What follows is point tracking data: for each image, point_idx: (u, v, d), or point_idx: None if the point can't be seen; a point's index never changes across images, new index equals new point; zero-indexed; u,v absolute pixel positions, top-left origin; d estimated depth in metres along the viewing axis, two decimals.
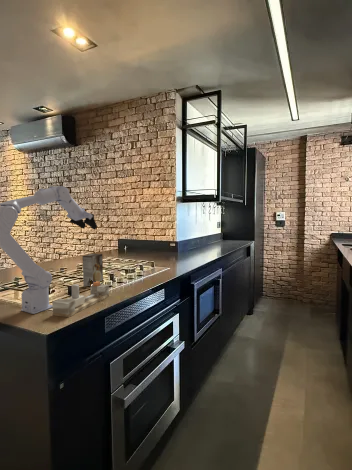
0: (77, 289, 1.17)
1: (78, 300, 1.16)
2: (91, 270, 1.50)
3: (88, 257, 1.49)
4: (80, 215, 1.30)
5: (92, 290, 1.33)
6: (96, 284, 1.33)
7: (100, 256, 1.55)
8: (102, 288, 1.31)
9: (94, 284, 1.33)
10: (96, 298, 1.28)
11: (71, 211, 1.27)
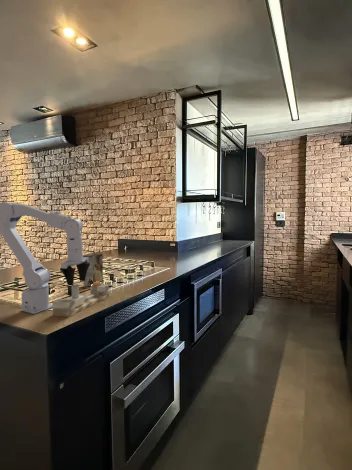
0: (77, 289, 1.17)
1: (78, 300, 1.16)
2: (91, 270, 1.50)
3: (88, 257, 1.49)
4: (69, 259, 1.14)
5: (92, 290, 1.33)
6: (96, 284, 1.33)
7: (100, 256, 1.55)
8: (102, 288, 1.31)
9: (94, 284, 1.33)
10: (96, 298, 1.28)
11: (67, 249, 1.15)
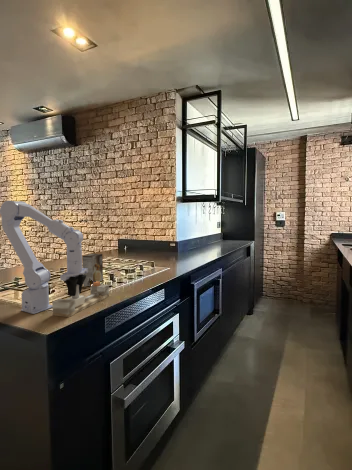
0: (77, 289, 1.17)
1: (78, 300, 1.16)
2: (91, 270, 1.50)
3: (88, 257, 1.49)
4: (68, 271, 1.15)
5: (92, 290, 1.33)
6: (96, 284, 1.33)
7: (100, 256, 1.55)
8: (102, 288, 1.31)
9: (94, 284, 1.33)
10: (96, 298, 1.28)
11: None
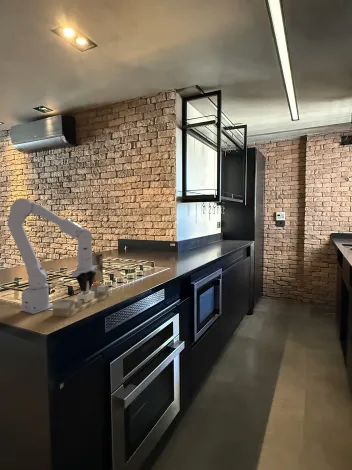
0: (87, 285, 1.23)
1: (88, 295, 1.22)
2: None
3: None
4: (79, 268, 1.21)
5: (92, 290, 1.33)
6: (96, 284, 1.33)
7: (100, 256, 1.55)
8: (102, 288, 1.31)
9: (94, 284, 1.33)
10: (96, 298, 1.28)
11: None
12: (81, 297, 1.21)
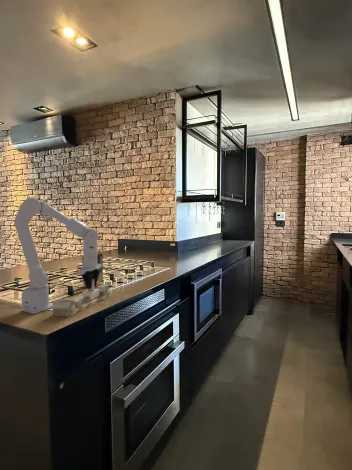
0: (93, 283, 1.27)
1: (94, 293, 1.26)
2: None
3: None
4: (84, 266, 1.24)
5: None
6: (96, 284, 1.33)
7: (100, 256, 1.55)
8: (102, 288, 1.31)
9: None
10: (96, 298, 1.28)
11: (83, 256, 1.26)
12: (87, 294, 1.25)
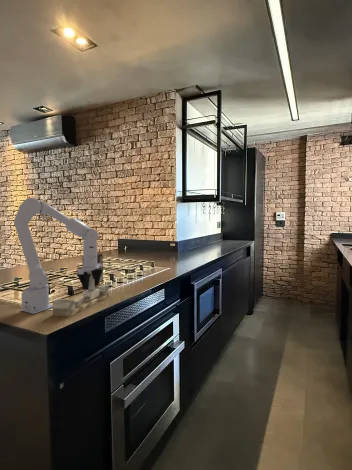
0: (93, 283, 1.27)
1: (94, 293, 1.26)
2: None
3: None
4: (84, 266, 1.24)
5: None
6: None
7: (100, 256, 1.55)
8: (102, 288, 1.31)
9: None
10: (96, 298, 1.28)
11: (83, 256, 1.26)
12: (87, 294, 1.25)
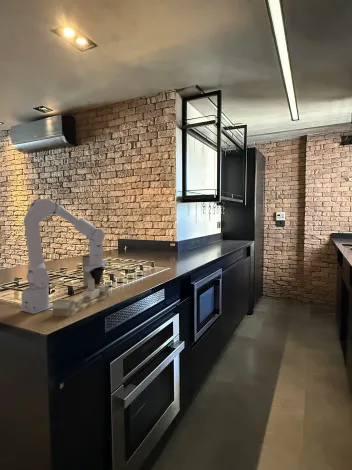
0: (93, 283, 1.27)
1: (94, 293, 1.26)
2: None
3: (88, 257, 1.49)
4: (91, 264, 1.31)
5: None
6: None
7: None
8: (102, 288, 1.31)
9: None
10: (96, 298, 1.28)
11: None
12: (87, 294, 1.25)
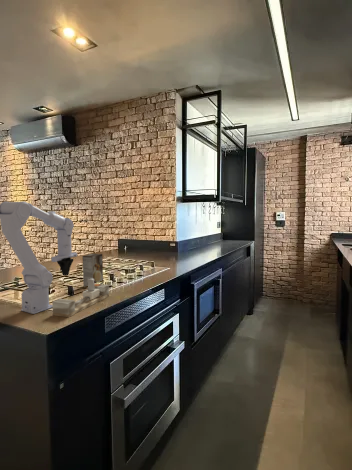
0: (93, 283, 1.27)
1: (94, 293, 1.26)
2: (91, 270, 1.50)
3: (88, 257, 1.49)
4: (59, 254, 1.28)
5: None
6: None
7: (100, 256, 1.55)
8: (102, 288, 1.31)
9: None
10: (96, 298, 1.28)
11: None
12: (87, 294, 1.25)
